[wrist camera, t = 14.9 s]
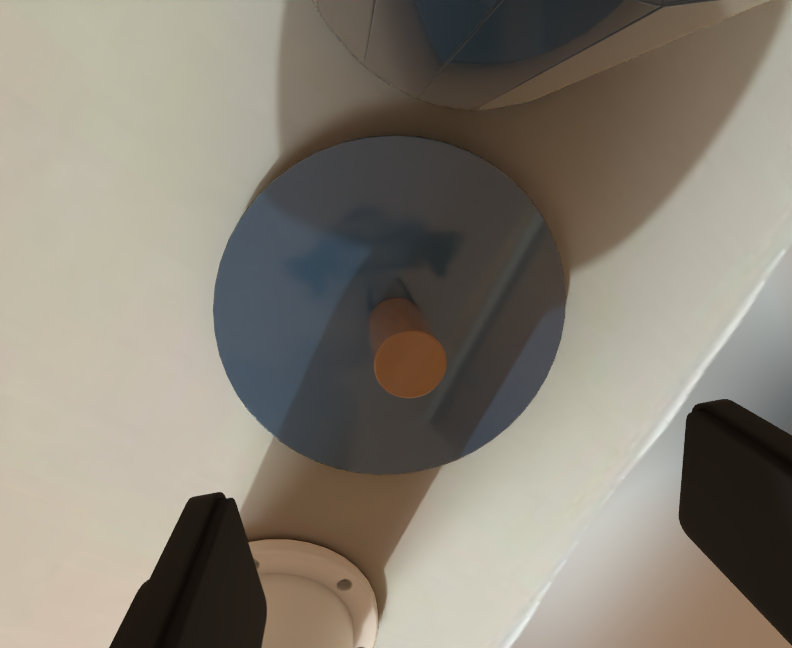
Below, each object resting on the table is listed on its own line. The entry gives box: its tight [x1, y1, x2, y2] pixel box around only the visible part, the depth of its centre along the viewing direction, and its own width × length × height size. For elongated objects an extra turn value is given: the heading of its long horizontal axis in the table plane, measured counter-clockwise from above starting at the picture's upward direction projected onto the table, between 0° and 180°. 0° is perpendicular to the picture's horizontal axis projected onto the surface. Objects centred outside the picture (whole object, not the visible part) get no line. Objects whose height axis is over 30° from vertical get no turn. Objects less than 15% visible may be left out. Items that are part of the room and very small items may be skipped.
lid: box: [213, 135, 566, 475], centre depth 20 cm, size 17×17×6 cm
